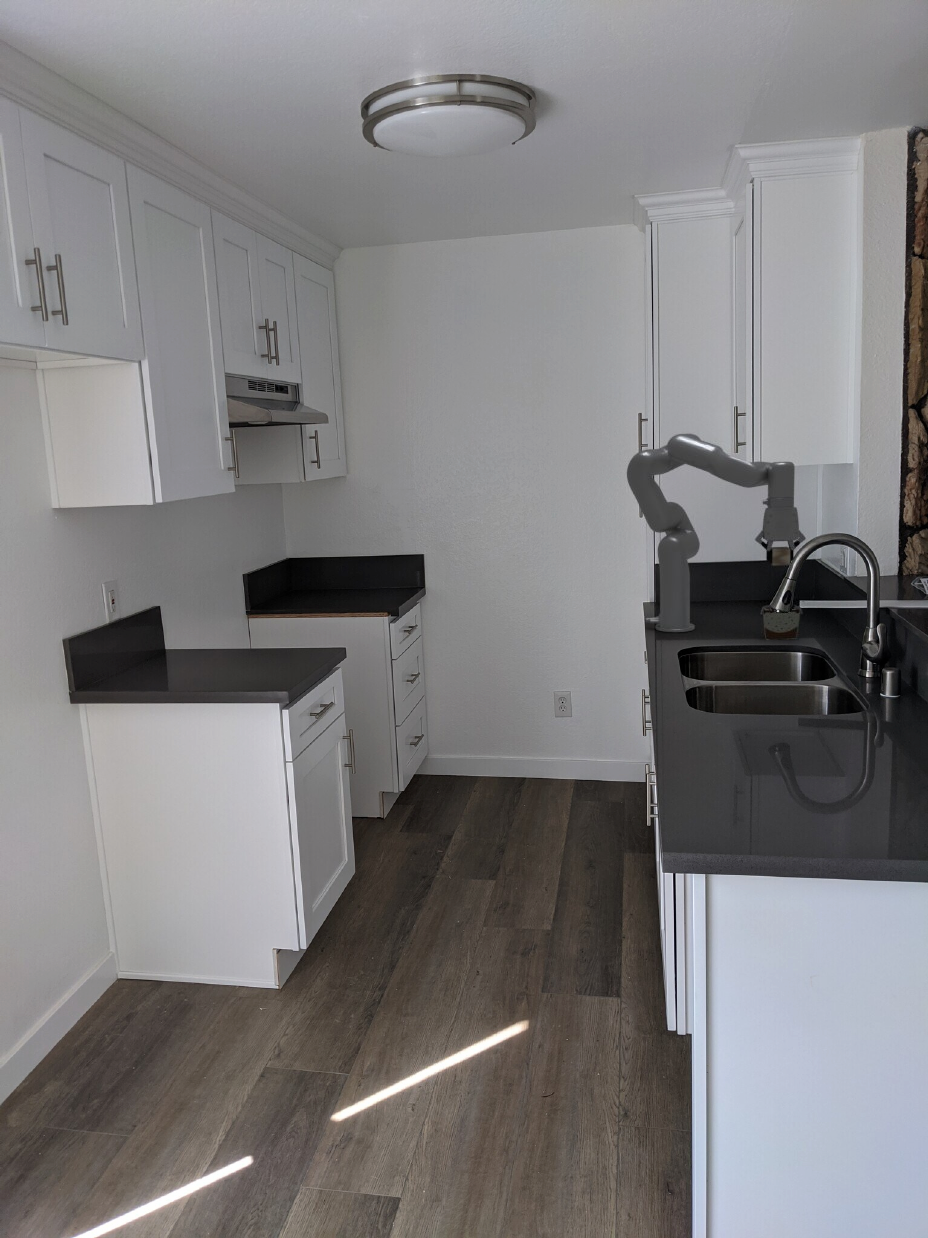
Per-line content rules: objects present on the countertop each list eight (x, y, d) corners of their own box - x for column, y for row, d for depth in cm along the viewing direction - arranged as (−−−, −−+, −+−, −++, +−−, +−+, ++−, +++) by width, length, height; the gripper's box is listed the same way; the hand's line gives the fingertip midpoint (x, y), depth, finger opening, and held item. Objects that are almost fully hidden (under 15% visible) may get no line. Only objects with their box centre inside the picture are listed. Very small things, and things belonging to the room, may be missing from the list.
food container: (796, 635, 291) (797, 603, 289) (801, 639, 285) (802, 607, 283) (756, 636, 293) (756, 604, 291) (760, 640, 287) (760, 608, 285)
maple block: (772, 565, 282) (773, 549, 282) (769, 563, 287) (769, 547, 286) (790, 565, 282) (790, 548, 281) (786, 562, 287) (786, 546, 286)
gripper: (753, 505, 279) (753, 565, 282) (813, 502, 276) (811, 563, 280) (749, 503, 286) (748, 562, 289) (807, 501, 284) (806, 560, 287)
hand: (779, 562), depth 285 cm, fingers closed on maple block, 5 cm apart
